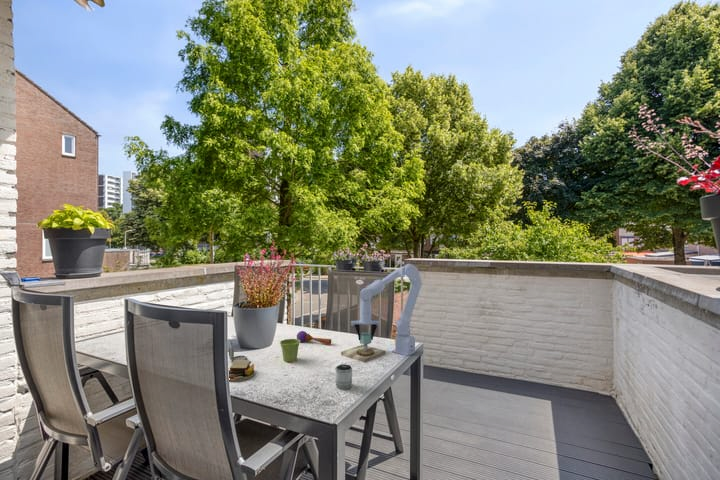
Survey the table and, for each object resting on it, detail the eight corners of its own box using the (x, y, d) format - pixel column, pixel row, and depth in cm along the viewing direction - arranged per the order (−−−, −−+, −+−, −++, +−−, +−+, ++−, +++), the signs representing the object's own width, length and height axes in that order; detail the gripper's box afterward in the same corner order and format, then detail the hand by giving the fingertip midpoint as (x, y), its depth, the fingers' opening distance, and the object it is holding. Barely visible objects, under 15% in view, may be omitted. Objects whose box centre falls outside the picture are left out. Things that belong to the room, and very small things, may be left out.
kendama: (327, 339, 181) (294, 332, 188) (327, 349, 182) (294, 343, 189) (332, 334, 186) (300, 328, 193) (332, 344, 188) (300, 338, 195)
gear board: (385, 353, 170) (385, 342, 170) (364, 362, 158) (364, 350, 158) (362, 347, 180) (362, 336, 180) (340, 354, 168) (341, 343, 168)
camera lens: (339, 382, 136) (339, 362, 136) (354, 384, 133) (354, 364, 133) (332, 388, 130) (332, 367, 130) (347, 391, 127) (347, 370, 127)
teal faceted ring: (373, 342, 173) (373, 334, 173) (366, 344, 169) (366, 336, 169) (365, 340, 177) (365, 332, 177) (357, 342, 173) (357, 334, 173)
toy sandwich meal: (216, 382, 136) (216, 370, 136) (232, 369, 150) (232, 358, 150) (247, 383, 135) (247, 371, 135) (260, 370, 149) (260, 359, 149)
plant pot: (275, 360, 160) (275, 341, 160) (292, 355, 167) (292, 337, 167) (287, 365, 154) (287, 345, 154) (304, 359, 161) (304, 341, 161)
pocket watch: (249, 358, 162) (249, 337, 162) (236, 364, 154) (236, 342, 154) (236, 356, 165) (236, 335, 166) (222, 362, 158) (222, 340, 158)
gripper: (379, 310, 178) (379, 337, 178) (351, 310, 177) (350, 337, 177) (380, 313, 171) (380, 341, 171) (351, 313, 170) (351, 341, 170)
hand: (365, 339), depth 173 cm, fingers closed on teal faceted ring, 6 cm apart
